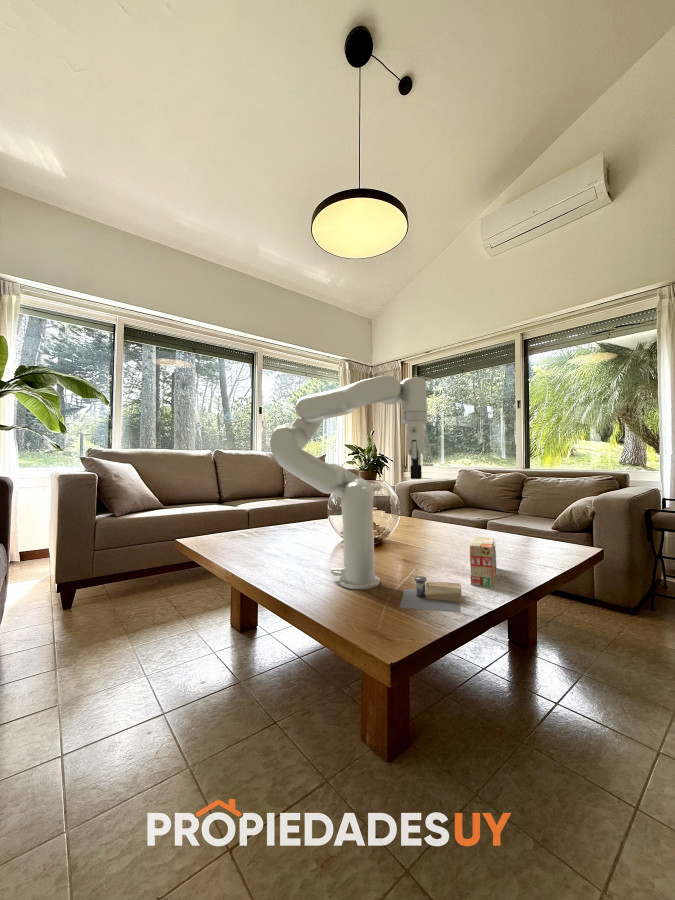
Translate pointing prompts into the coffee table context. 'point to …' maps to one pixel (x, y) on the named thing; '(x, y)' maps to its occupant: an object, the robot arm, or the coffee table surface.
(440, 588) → the leg
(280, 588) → the coffee table surface
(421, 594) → the post
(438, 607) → the mat
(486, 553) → the stack of blocks
